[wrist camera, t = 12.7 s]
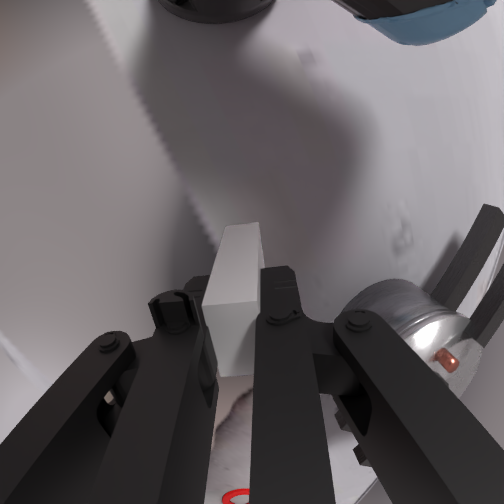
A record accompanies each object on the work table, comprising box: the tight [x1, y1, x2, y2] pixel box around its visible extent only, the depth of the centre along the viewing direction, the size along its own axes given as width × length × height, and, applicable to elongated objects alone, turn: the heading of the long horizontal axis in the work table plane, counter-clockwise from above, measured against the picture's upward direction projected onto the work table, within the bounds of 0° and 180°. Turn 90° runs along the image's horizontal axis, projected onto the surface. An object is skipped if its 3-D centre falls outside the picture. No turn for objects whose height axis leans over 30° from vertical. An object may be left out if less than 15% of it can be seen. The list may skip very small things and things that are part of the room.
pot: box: [335, 204, 504, 432], centre depth 36 cm, size 26×26×11 cm
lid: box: [353, 264, 504, 467], centre depth 28 cm, size 35×17×4 cm, turn 146°
